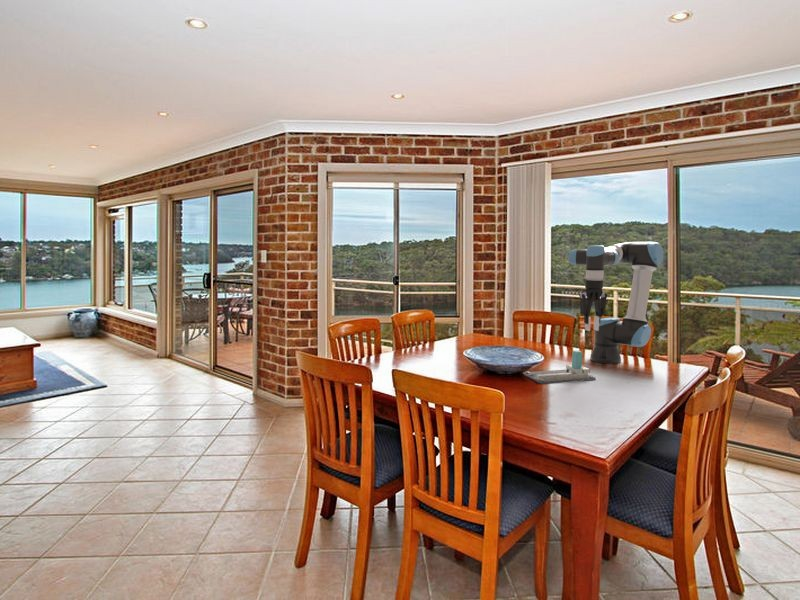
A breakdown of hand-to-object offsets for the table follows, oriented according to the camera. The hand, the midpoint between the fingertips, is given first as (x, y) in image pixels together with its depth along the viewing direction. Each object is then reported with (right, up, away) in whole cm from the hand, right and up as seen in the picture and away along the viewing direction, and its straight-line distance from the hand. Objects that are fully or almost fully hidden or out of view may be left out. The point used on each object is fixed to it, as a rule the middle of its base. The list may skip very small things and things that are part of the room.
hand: (591, 330), depth 217 cm
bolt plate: (-14, -22, +4) cm, 27 cm away
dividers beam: (-14, -22, +2) cm, 26 cm away
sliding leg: (-8, -21, +3) cm, 23 cm away
